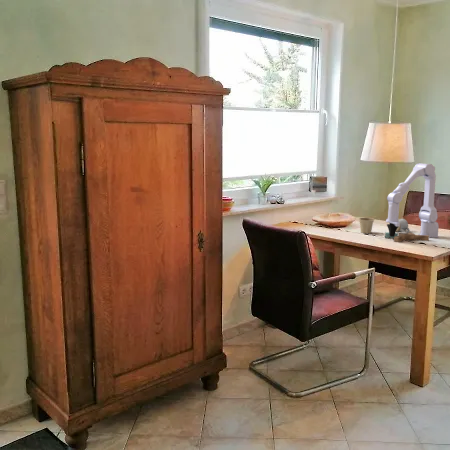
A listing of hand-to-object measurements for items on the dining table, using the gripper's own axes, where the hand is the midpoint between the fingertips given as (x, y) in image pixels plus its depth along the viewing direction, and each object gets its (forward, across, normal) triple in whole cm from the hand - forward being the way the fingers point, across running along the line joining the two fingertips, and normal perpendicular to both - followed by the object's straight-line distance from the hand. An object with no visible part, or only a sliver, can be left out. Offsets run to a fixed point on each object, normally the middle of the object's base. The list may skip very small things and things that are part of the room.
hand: (391, 236), depth 286 cm
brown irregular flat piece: (+2, +2, +10) cm, 10 cm away
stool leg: (+1, -2, +4) cm, 4 cm away
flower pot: (+2, -20, -8) cm, 22 cm away
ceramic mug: (+2, -22, +15) cm, 27 cm away
